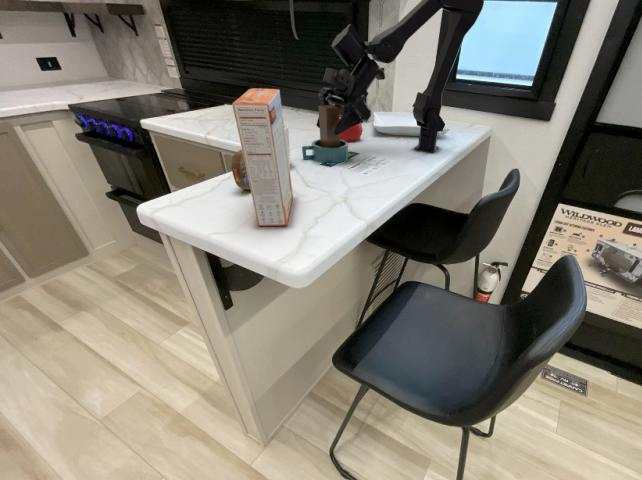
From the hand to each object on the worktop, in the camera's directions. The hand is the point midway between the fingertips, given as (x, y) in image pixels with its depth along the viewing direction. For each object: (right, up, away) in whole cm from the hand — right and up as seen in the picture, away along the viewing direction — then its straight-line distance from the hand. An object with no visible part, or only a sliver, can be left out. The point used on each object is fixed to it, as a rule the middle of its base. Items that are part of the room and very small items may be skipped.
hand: (325, 130), depth 90 cm
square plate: (+27, +20, +38) cm, 50 cm away
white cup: (-13, -11, -1) cm, 17 cm away
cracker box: (-8, -28, -22) cm, 37 cm away
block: (+1, -5, +5) cm, 7 cm away
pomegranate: (+4, +8, +22) cm, 24 cm away
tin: (-16, -19, -10) cm, 26 cm away
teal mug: (-1, -6, +5) cm, 8 cm away
